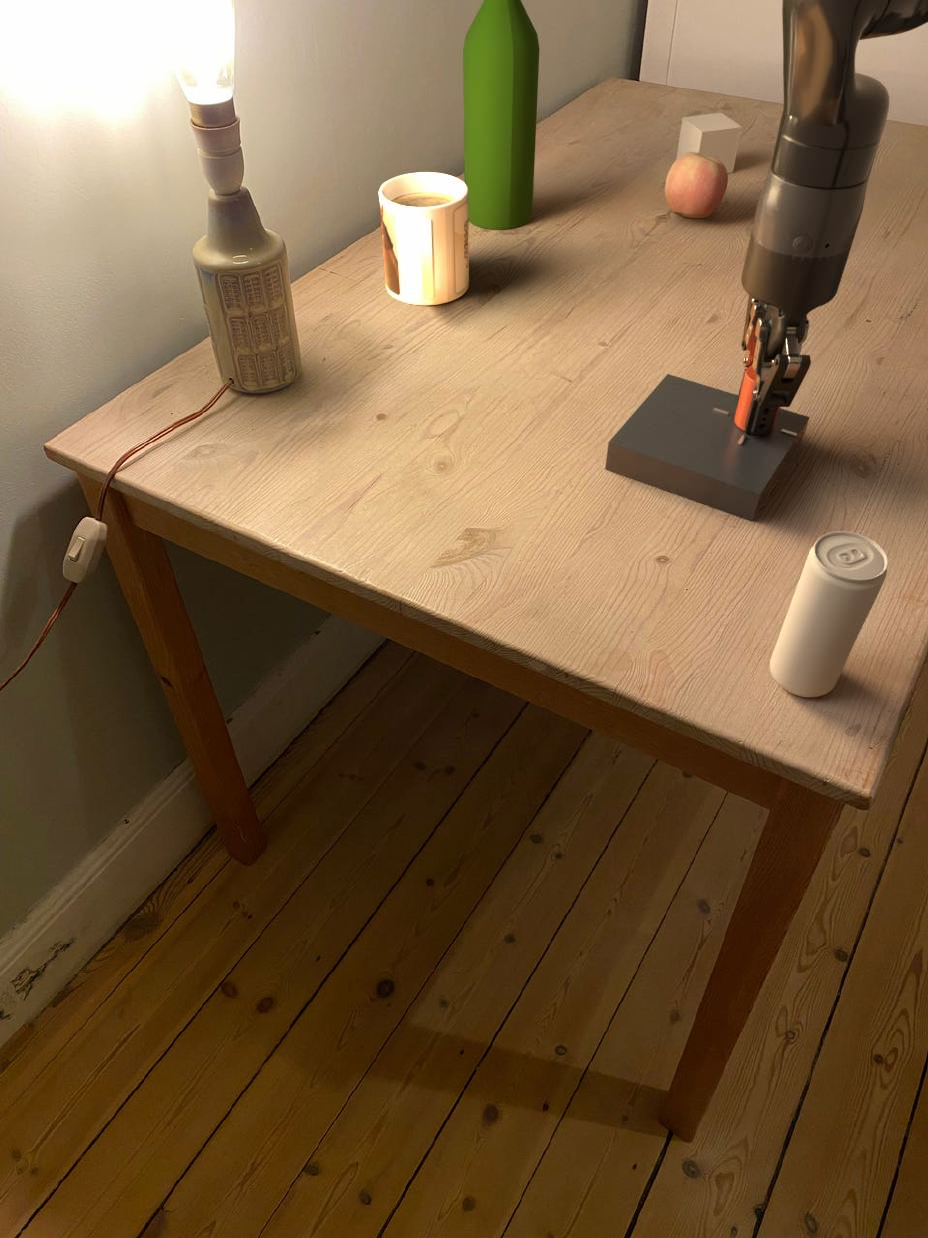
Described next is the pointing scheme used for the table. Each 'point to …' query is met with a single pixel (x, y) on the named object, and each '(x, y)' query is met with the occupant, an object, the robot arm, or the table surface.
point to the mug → (425, 237)
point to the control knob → (747, 399)
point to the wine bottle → (500, 114)
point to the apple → (695, 185)
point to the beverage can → (827, 612)
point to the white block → (710, 137)
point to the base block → (703, 447)
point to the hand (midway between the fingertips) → (752, 418)
